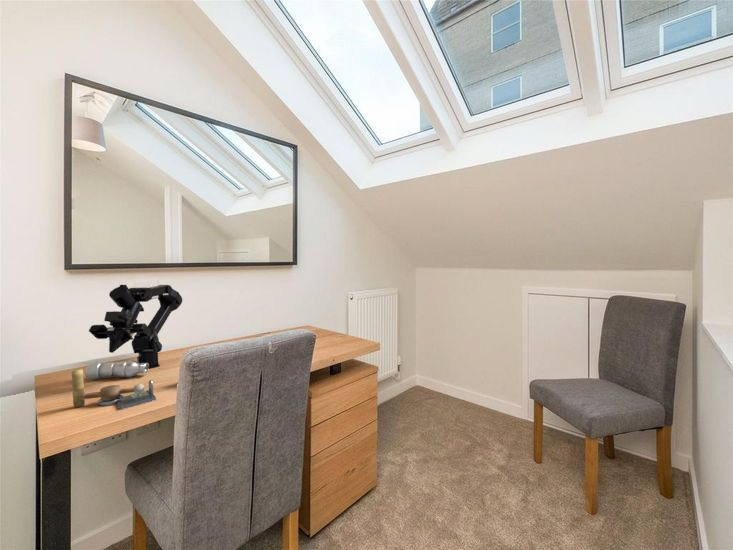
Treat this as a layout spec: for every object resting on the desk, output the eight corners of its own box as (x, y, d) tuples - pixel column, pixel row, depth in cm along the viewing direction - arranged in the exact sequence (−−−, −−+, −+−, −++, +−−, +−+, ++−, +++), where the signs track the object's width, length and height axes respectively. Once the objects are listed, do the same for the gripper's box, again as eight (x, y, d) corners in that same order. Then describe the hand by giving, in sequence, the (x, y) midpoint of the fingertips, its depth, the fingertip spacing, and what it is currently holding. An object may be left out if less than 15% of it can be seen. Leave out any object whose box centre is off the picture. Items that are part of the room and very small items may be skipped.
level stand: (146, 389, 116) (146, 375, 116) (157, 399, 108) (157, 384, 108) (96, 402, 106) (95, 386, 106) (103, 414, 98) (103, 397, 98)
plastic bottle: (94, 373, 130) (151, 369, 134) (84, 384, 124) (144, 380, 128) (90, 358, 128) (149, 355, 132) (80, 369, 122) (141, 365, 126)
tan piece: (146, 392, 112) (144, 361, 112) (142, 398, 108) (141, 365, 107) (77, 402, 105) (75, 368, 105) (70, 409, 101) (68, 374, 100)
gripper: (90, 302, 122) (68, 341, 111) (145, 301, 123) (127, 339, 113) (107, 320, 130) (87, 357, 120) (157, 318, 131) (142, 355, 121)
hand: (110, 352), depth 118 cm, fingers closed
